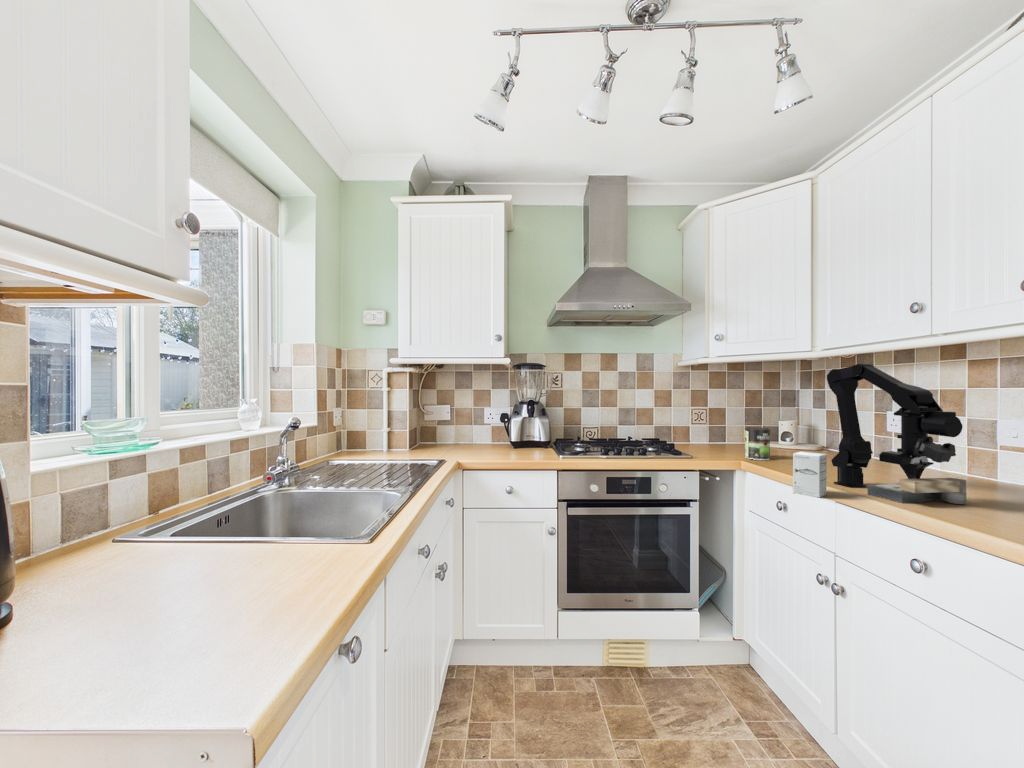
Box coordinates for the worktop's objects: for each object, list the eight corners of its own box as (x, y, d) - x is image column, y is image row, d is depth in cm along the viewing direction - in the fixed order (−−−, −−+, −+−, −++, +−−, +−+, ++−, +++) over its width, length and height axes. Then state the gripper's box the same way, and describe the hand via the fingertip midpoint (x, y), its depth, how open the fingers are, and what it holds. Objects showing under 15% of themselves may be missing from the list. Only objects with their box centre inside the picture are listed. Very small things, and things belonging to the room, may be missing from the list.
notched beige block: (953, 499, 129) (953, 477, 129) (970, 503, 125) (970, 480, 125) (899, 501, 127) (899, 478, 127) (914, 505, 123) (914, 482, 123)
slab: (867, 494, 136) (867, 483, 136) (919, 491, 140) (919, 481, 140) (901, 503, 127) (901, 491, 127) (956, 499, 131) (956, 488, 131)
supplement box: (791, 493, 137) (791, 453, 138) (800, 490, 142) (800, 450, 142) (819, 498, 132) (819, 455, 132) (827, 494, 137) (827, 453, 137)
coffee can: (775, 460, 200) (775, 429, 201) (755, 461, 198) (755, 429, 198) (758, 456, 211) (758, 427, 211) (739, 457, 208) (739, 427, 209)
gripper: (920, 438, 119) (919, 495, 119) (972, 434, 123) (972, 489, 123) (877, 432, 130) (877, 485, 130) (927, 429, 134) (927, 480, 134)
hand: (914, 485), depth 129 cm, fingers closed
